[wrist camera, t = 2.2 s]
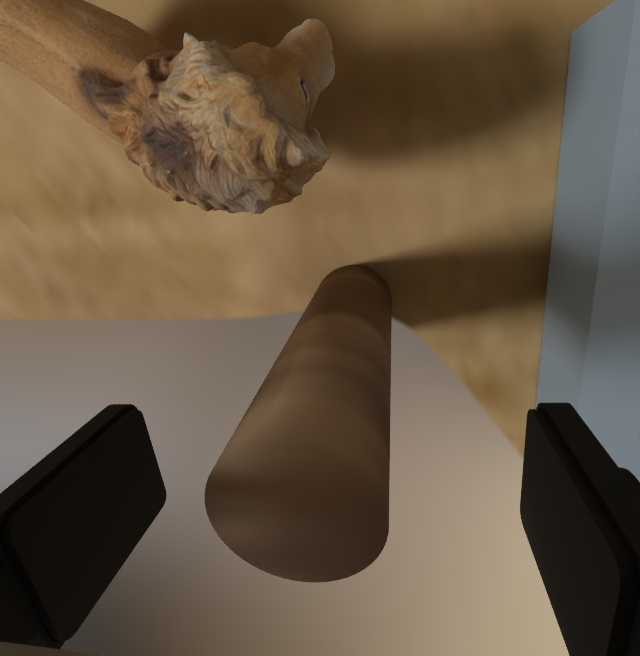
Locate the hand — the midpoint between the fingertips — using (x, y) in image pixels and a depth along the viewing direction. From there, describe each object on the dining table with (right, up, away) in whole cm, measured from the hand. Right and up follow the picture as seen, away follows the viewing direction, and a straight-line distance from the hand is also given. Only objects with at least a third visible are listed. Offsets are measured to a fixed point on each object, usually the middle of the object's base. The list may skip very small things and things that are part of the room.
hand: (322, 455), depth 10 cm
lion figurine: (-5, +13, +6) cm, 15 cm away
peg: (+1, +4, +9) cm, 10 cm away
